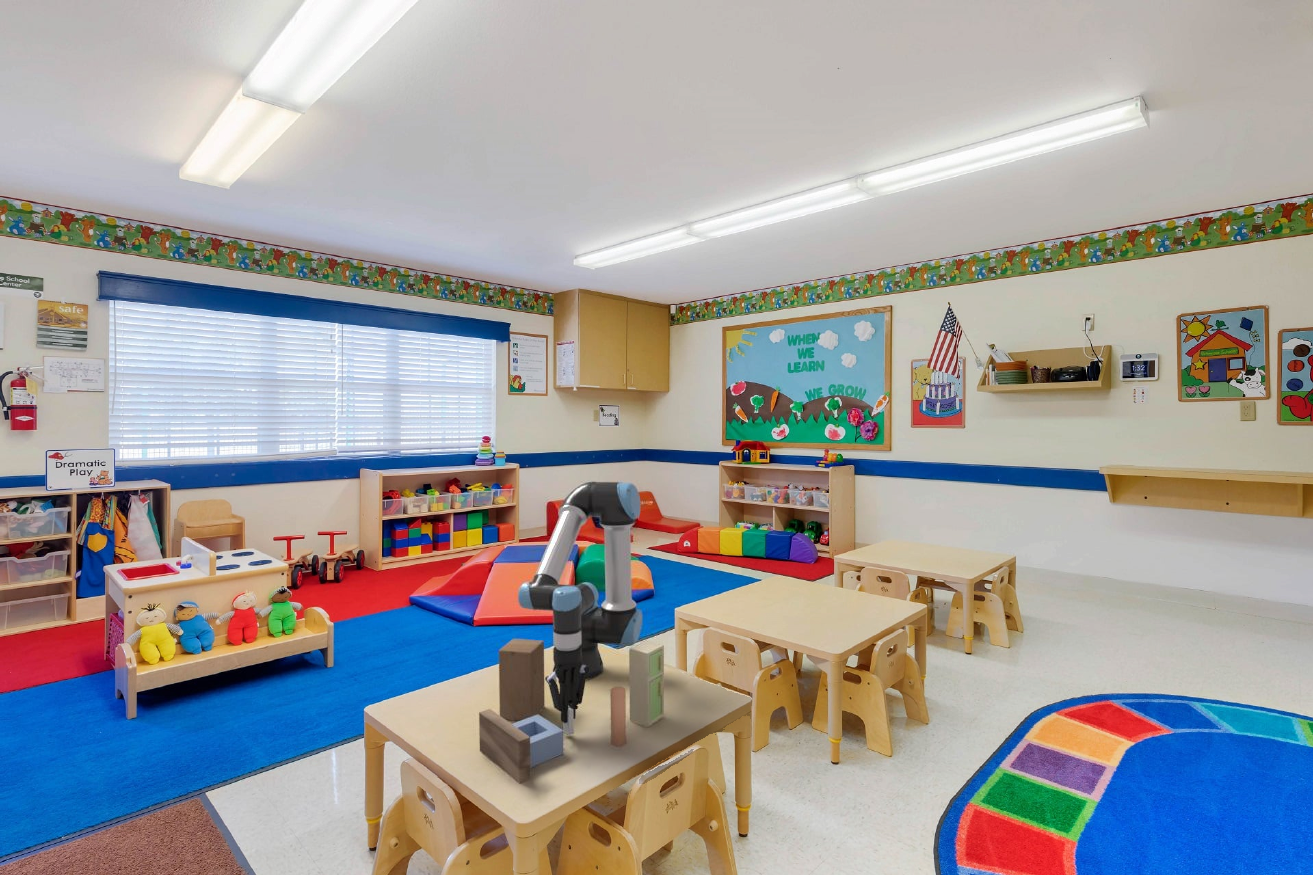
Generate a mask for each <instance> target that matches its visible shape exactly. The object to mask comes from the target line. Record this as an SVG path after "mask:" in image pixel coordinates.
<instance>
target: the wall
mask: <svg viewBox="0 0 1313 875" xmlns="http://www.w3.org/2000/svg"><path fill="white" fill-rule="evenodd" d="M478 719H479V720H478V722H479V724H478V725H479V728H478V729H479V731H478V732H479V733H478V734H479V751H480V752H481V753H482V754H483V755H484V756H486V757H487V758H488V759H489V760H490V761H491V762H493V763H494V764H495V765H496V766H497V767H499V768H500V770H502V771H503V772H505V773H506V774H507V775H509V777H511V778H512V779H513V780H514V781H515V782H517V783H518V784H521V783H523V782H526V781H529V780H531V778H532V777H531V775H532V774H531V768H530V737H529V736H528V735H526V734H525V733H524V732H522V731H521V730H519V729H518V728H516V727H515V726H514V725H512V724H513V723H511V722H509V721H508V719H504V718H502V717H501V716H500V714H498V713H496V712H495V711H494V710H492V709H491V708H488V709H485V710H482V711H479V712H478Z"/></svg>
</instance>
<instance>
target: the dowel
mask: <svg viewBox="0 0 1313 875" xmlns="http://www.w3.org/2000/svg"><path fill="white" fill-rule="evenodd" d="M626 690H627V689H626V688H625V687H624V686H613V687H611V688H610V692H609V693H610V744H611V745H613V746H615V747H621V746H624V745H625V744H626V743H627V720H626V718H627V716H626V714H627V712H626V711H627V707H626V706H627V704H626V703H627V702H626V698H627V696H626V693H627V692H626Z"/></svg>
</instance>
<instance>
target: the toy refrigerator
mask: <svg viewBox="0 0 1313 875" xmlns="http://www.w3.org/2000/svg"><path fill="white" fill-rule="evenodd" d="M628 654H629V655H628V658H629V660H628V661H629V663H628V664H629V669H628V670H629V671H628V672H629V674H628V675H629V721H630V722H632V723H635V724H637V725H639V726H643V727H645V728H649V727H650V726H652V725H653V724H655V723H657V722H658V721H661V719H663V718H664V717H665V645H664V644H661V643H657V642H653V641H649V640H644V641H642V642H639V643H637V644H636V645H635V644H634V645H632V646H630V647H629V651H628Z"/></svg>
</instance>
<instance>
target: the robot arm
mask: <svg viewBox="0 0 1313 875" xmlns="http://www.w3.org/2000/svg"><path fill="white" fill-rule="evenodd" d="M641 508H642V507H641V497H640V493H639V491H638V488H637V486H636V485H635V484H633V483H631V482H623V481H589V482H585V483H583V484H580V485H579V486H577V487H575V488H574V489H573V490H572V491H570V493H569V494H568V495H567V496H566V497H565V499H564V500H563V501H562V503H561V505H560V507H559V508H558V513H557V514H558V519H557V522H556V525H555V527H554V529H553V531H552V534H551V536H550V539H549V541H548V543H547V545H546V548H545V551H544V553H543V555H542V558H541V560H540V563H539V565H538V566H537V569H536V572H535V574H534V576H533V577H532V581H525V582H523V583H522V584H521V585H520V586H519V588H518V593H517V602H518V603H519V606H520V607H521V608H522V609H527V610H532V611H549V612H550V611H551V612H552V624H553V625H552V627H553V628H552V631H553V632H552V633H553V634H552V635H553V643H552V644H553V645H552V646H553V649H552V650H553V651H552V652H553V663H554V664H553V668H552V672H551V674H550V675H549V676H548V675H547V676H545V677H544V681H546V682H547V684H548V687H549V692H550V695H551V700H552V704H553V708H554V709H556V710H557V711H559V712H560V721H561V722H562V723H563V724H562V726H563V727H562V728H563V729H562V730H563V733H565V734H566V735H568V736H571V735H574V733H575V730H574V728H575V726H574V720H576V717H577V716H576V713H577V712H576V711H577V710H578V708H579V706H578V705H581V704H582V703H583V697H584V692H585V686H586V682H587V681H586V680H591V679H595V678H597V677H599V676H601V675H602V674H603V672H604V663H603V660H602V656H601V653H600V650H599V644H600V645H611V646H620V647H623V646H624V647H633V646H635V644H636V643H637V641H638V639H639V638H640V637H639V636H640V634H641V631H642V630H641V629H642V625H643V611H642V610H640V609H637V603H636V601H635V600H633V599H632V559H631V558H632V554H631V553H632V550H631V549H632V548H631V544H632V543H631V528H632V527H633V526H634V525H635V523H636V519H638V518H639V517H640V514H641ZM589 518H599V525H600V526H601V527H602V528H603V529H604V530H603V533H604V573H605V574H604V575H605V576H604V577H605V578H604V579H605V582H604V583H605V584H604V586H605V599H604V601H603V602H602V603H601V606H599V604H598V600H599V592H598V588H596V586H595V585H594V584H593V583H591V582H586V581H585V582H582V583H579V584H577V585H574V584H573V585H572V584H560V581H561V579H562V577H563V576H562V575H563V573H564V571H565V568H566V566H567V564H568V561H569V558H570V555H571V553H572V550H573V548H574V545H575V542H576V540H577V538H578V535H579V533H580V530H581V528H582V526H584V525H585V524H586V523H587V521H588V519H589ZM557 679H558V680H557ZM557 682H558V684H557ZM558 685H559V686H558Z"/></svg>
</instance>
